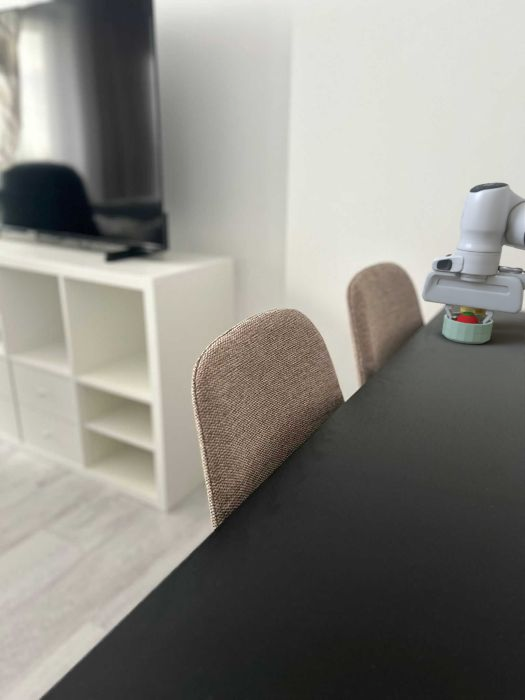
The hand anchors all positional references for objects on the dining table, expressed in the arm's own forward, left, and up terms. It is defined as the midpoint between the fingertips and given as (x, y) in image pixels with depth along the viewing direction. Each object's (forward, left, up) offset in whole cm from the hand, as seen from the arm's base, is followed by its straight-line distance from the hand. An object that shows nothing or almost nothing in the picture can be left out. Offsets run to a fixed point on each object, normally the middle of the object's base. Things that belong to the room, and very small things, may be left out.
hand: (466, 326), depth 112 cm
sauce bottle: (-6, -10, -3) cm, 12 cm away
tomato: (0, 0, -2) cm, 2 cm away
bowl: (0, 0, -3) cm, 3 cm away
